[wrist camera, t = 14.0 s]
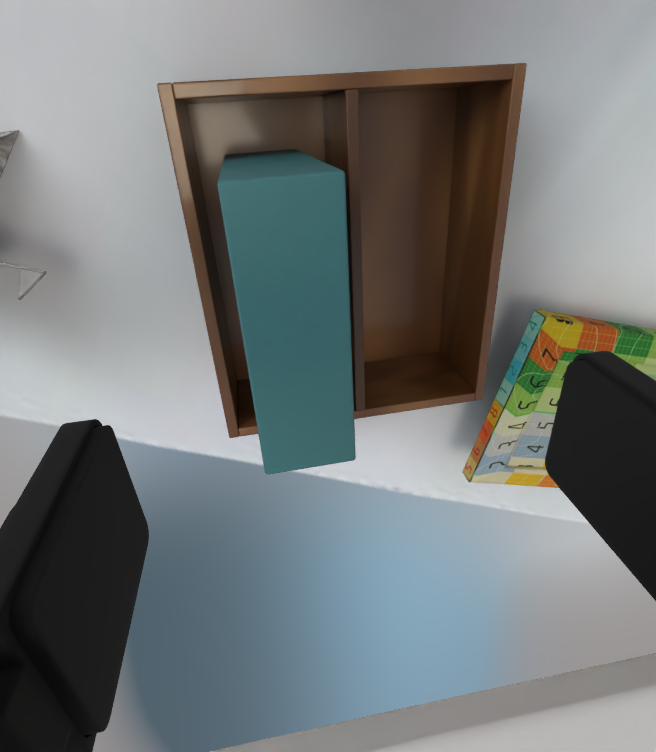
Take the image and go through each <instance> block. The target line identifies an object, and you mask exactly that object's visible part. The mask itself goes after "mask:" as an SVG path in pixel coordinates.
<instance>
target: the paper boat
mask: <svg viewBox="0 0 656 752" xmlns="http://www.w3.org/2000/svg"><path fill="white" fill-rule="evenodd" d="M18 132H19V130H18V131H10V132H2V133H0V176H1V173H2V171H3V168H4V166H5V163H6V161H7V159H8V156H9V154H10V151H11V149H12V146H13V144H14V141H15V139H16V137H17V134H18ZM0 265H4V266H8V267H13V268H18V269H20V279H19V300H21V299H22V298H23V297H24V296H25V295H26V294H27V293H28V292H29V291H30V290H31V289H32V288H33V287H34V286H35V285H36V283H37V282H38V281H39V280H40V279H41V278H42V277H43V276H44V275H45V274H46V271H43V270H38V269H33V268H28V267H23V266H18V265H13V264H9V263H4V262H0Z"/></svg>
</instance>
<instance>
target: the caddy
mask: <svg viewBox="0 0 656 752" xmlns="http://www.w3.org/2000/svg"><path fill="white" fill-rule="evenodd" d="M525 72H526V63H516V64H498V65H480V66H462V67H444V68H426V69H408V70H390V71H372V72H354V73H336V74H318V75H300V76H282V77H264V78H246V79H228V80H210V81H192V82H174V83H173V84H172V83H158V84H157V87H158V92H159V97H160V102H161V107H162V111H163V116H164V121H165V126H166V131H167V136H168V141H169V146H170V150H171V155H172V160H173V165H174V170H175V175H176V180H177V185H178V189H179V194H180V199H181V204H182V209H183V214H184V219H185V223H186V228H187V233H188V238H189V243H190V248H191V253H192V258H193V262H194V267H195V272H196V277H197V282H198V287H199V292H200V297H201V301H202V306H203V311H204V316H205V321H206V326H207V331H208V336H209V340H210V345H211V350H212V355H213V360H214V365H215V370H216V375H217V379H218V384H219V389H220V394H221V399H222V404H223V409H224V413H225V418H226V423H227V428H228V433H229V437H230V438H234V437H239V435H240V436H246V435H253V434H259V433H258V427H257V421H256V415H255V409H254V403H253V397H252V391H251V385H250V379H249V372H248V366H247V360H246V354H245V348H244V342H243V336H242V330H241V324H240V318H239V312H238V306H237V300H236V294H235V288H234V282H233V276H232V270H231V264H230V258H229V252H228V246H227V239H226V233H225V227H224V221H223V215H222V209H221V203H220V197H219V191H218V185H217V184H218V180H219V176H220V172H221V168H222V164H223V160H224V156H225V155H226V154H237V153H250V152H263V151H276V150H289V149H296V150H298V151H301V152H303V153H305V154H307V155H309V156H312V157H314V158H316V159H318V160H320V161H322V162H325V163H327V164H329V165H331V166H333V167H336V168H338V169H340V170H342V171H344V172H345V185H346V212H347V239H348V266H349V294H350V321H351V348H352V376H353V403H354V419H357V418H364V417H370V416H377V415H383V414H390V413H396V412H403V411H409V410H416V409H422V408H429V407H436V406H442V405H449V404H455V403H462V402H468V401H474V400H481V399H483V396H484V388H485V380H486V373H487V365H488V357H489V349H490V342H491V334H492V326H493V319H494V311H495V303H496V295H497V288H498V280H499V272H500V265H501V257H502V249H503V242H504V234H505V226H506V218H507V211H508V203H509V195H510V188H511V180H512V172H513V165H514V157H515V149H516V141H517V134H518V126H519V118H520V111H521V103H522V95H523V87H524V80H525Z"/></svg>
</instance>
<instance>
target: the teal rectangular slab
mask: <svg viewBox="0 0 656 752" xmlns="http://www.w3.org/2000/svg"><path fill="white" fill-rule="evenodd" d="M217 185H218V191H219V197H220V203H221V209H222V215H223V221H224V227H225V233H226V239H227V246H228V252H229V258H230V264H231V270H232V276H233V282H234V288H235V294H236V300H237V306H238V312H239V318H240V324H241V330H242V336H243V342H244V348H245V354H246V360H247V366H248V372H249V379H250V385H251V391H252V397H253V403H254V409H255V415H256V421H257V427H258V433H259V439H260V445H261V451H262V457H263V463H264V469H265V473H266V474H274V473H280V472H286V471H292V470H298V469H304V468H310V467H316V466H322V465H328V464H334V463H340V462H346V461H352V460H355V430H354V403H353V376H352V348H351V321H350V294H349V266H348V239H347V212H346V185H345V172H344V171H342V170H340V169H338V168H336V167H333V166H331V165H329V164H327V163H325V162H322V161H320V160H318V159H316V158H314V157H312V156H309V155H307V154H305V153H303V152H301V151H298V150H296V149H289V150H276V151H263V152H250V153H237V154H226V155H225V156H224V160H223V164H222V168H221V172H220V176H219V180H218V184H217Z"/></svg>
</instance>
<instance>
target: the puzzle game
mask: <svg viewBox="0 0 656 752" xmlns="http://www.w3.org/2000/svg"><path fill="white" fill-rule="evenodd" d="M598 351H610V352H612V353H614V354H615V355H617V356H618V357H620V358H621V359H623V360H624V361H626V362H628V363H629V364H631V365H632V366H634V367H635V368H637V369H638V370H640V371H642V372H643V373H645V374H646V375H648V376H649V377H651V378H652V379H654V380H656V330H653V329H647V328H641V327H635V326H630V325H624V324H618V323H612V322H606V321H601V320H595V319H589V318H583V317H578V316H572V315H566V314H560V313H554V312H549V311H543V310H534V312H533V314H532V316H531V319H530V321H529V323H528V325H527V328H526V330H525V332H524V334H523V337H522V339H521V341H520V343H519V346H518V348H517V350H516V352H515V355H514V357H513V359H512V361H511V364H510V366H509V368H508V370H507V373H506V375H505V377H504V379H503V382H502V384H501V386H500V388H499V391H498V393H497V395H496V397H495V400H494V402H493V404H492V406H491V409H490V411H489V413H488V415H487V418H486V420H485V422H484V424H483V427H482V429H481V431H480V433H479V436H478V438H477V440H476V442H475V445H474V447H473V449H472V451H471V454H470V456H469V458H468V460H467V463H466V465H465V467H464V469H463V474H464V475H465V477H466V478H467V480H468V481H469V482H475V483H494V484H509V485H525V486H540V487H555V488H559V487H558V485H557V484H556V483H555V482H554V481H553V480H552V478H551V477H550V476H549V474H548V473H547V470H546V467H545V457H546V453H547V448H548V444H549V440H550V436H551V432H552V427H553V423H554V419H555V415H556V410H557V406H558V402H559V398H560V393H561V389H562V385H563V381H564V376H565V372H566V368H567V366H568V365H569V363H571V362H573V359H574V358H575V357H576V356H577V355H579V354H583V353H590V352H598Z"/></svg>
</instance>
